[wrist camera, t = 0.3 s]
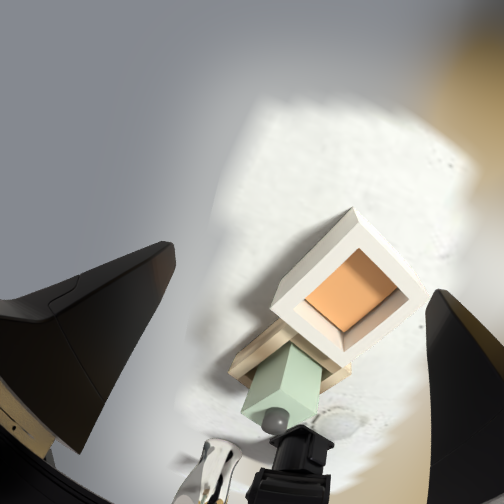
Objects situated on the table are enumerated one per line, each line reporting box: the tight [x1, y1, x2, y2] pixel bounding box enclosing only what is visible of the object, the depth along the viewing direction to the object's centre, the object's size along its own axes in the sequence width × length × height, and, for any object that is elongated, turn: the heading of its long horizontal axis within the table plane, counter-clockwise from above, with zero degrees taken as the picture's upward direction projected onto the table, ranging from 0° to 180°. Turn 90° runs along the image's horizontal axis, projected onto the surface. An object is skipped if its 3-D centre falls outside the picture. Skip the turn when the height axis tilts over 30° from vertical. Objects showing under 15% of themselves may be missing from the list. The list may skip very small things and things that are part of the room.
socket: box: [270, 207, 430, 368], centre depth 22 cm, size 9×8×5 cm
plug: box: [241, 340, 322, 435], centre depth 24 cm, size 5×4×10 cm
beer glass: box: [172, 438, 242, 504], centre depth 32 cm, size 7×7×15 cm
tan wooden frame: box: [228, 318, 351, 395], centre depth 27 cm, size 9×8×3 cm
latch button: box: [305, 248, 397, 332], centre depth 22 cm, size 6×5×1 cm
